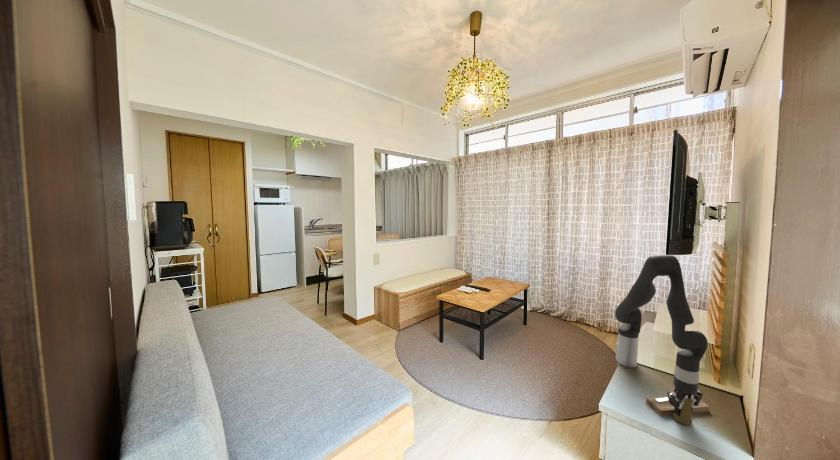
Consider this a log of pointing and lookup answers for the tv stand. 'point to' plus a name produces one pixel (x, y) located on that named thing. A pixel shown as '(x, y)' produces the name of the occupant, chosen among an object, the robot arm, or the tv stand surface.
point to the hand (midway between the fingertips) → (682, 414)
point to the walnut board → (668, 409)
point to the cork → (685, 412)
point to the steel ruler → (662, 399)
